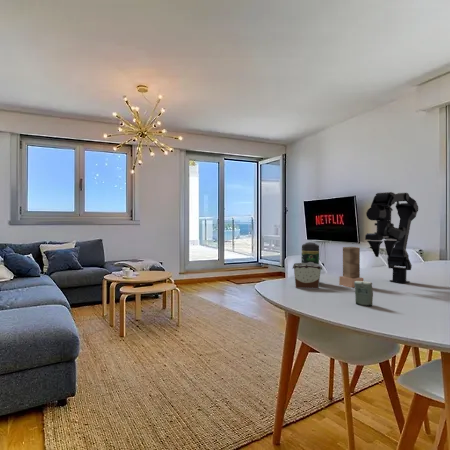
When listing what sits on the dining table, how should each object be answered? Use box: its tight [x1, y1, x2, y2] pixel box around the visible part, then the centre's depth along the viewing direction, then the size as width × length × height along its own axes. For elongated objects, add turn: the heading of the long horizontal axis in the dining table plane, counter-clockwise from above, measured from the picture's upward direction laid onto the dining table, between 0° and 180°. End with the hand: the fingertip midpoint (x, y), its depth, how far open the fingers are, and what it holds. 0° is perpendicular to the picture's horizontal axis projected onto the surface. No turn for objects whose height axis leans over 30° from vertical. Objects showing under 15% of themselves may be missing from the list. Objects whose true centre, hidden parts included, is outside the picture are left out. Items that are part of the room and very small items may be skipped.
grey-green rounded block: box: [354, 280, 374, 307], centre depth 111 cm, size 6×5×8 cm
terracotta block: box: [338, 275, 364, 289], centre depth 146 cm, size 7×7×4 cm
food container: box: [291, 262, 323, 290], centre depth 142 cm, size 12×6×10 cm, turn 84°
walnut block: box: [342, 246, 361, 278], centre depth 146 cm, size 5×5×13 cm
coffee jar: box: [300, 241, 320, 264], centre depth 152 cm, size 10×8×19 cm
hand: (383, 256), depth 146 cm, fingers open, 9 cm apart
